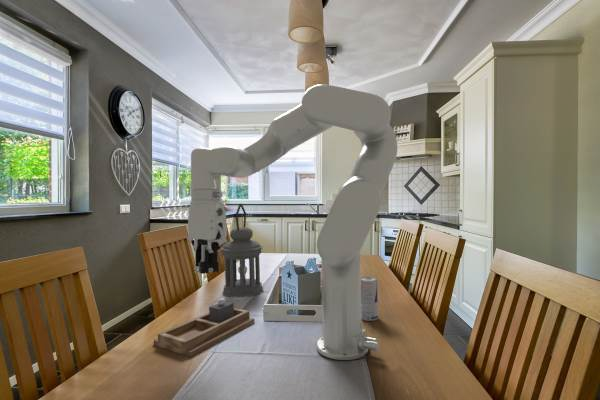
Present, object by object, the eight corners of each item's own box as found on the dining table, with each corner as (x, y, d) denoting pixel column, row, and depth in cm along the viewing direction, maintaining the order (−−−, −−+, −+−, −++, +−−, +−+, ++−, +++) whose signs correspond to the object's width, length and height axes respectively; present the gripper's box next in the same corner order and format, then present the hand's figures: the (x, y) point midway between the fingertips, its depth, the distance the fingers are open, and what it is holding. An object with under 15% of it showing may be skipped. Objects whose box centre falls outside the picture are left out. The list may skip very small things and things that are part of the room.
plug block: (234, 319, 100) (233, 297, 100) (219, 326, 95) (218, 303, 95) (224, 317, 102) (223, 295, 102) (209, 324, 97) (208, 301, 97)
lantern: (261, 297, 125) (258, 203, 125) (216, 298, 125) (213, 204, 125) (266, 284, 142) (264, 202, 141) (227, 285, 142) (224, 203, 142)
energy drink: (379, 316, 103) (378, 277, 103) (375, 322, 98) (375, 281, 98) (362, 314, 105) (361, 276, 105) (358, 320, 100) (357, 280, 100)
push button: (197, 276, 84) (197, 236, 83) (189, 272, 88) (189, 234, 87) (222, 272, 88) (222, 234, 88) (213, 268, 92) (213, 232, 92)
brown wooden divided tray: (254, 322, 100) (254, 312, 100) (190, 357, 80) (190, 343, 80) (220, 314, 107) (219, 305, 107) (153, 344, 87) (153, 332, 87)
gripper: (240, 196, 86) (240, 267, 86) (195, 196, 95) (195, 260, 95) (218, 196, 80) (219, 273, 80) (173, 196, 88) (173, 265, 89)
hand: (206, 265), depth 87 cm, fingers closed on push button, 3 cm apart
